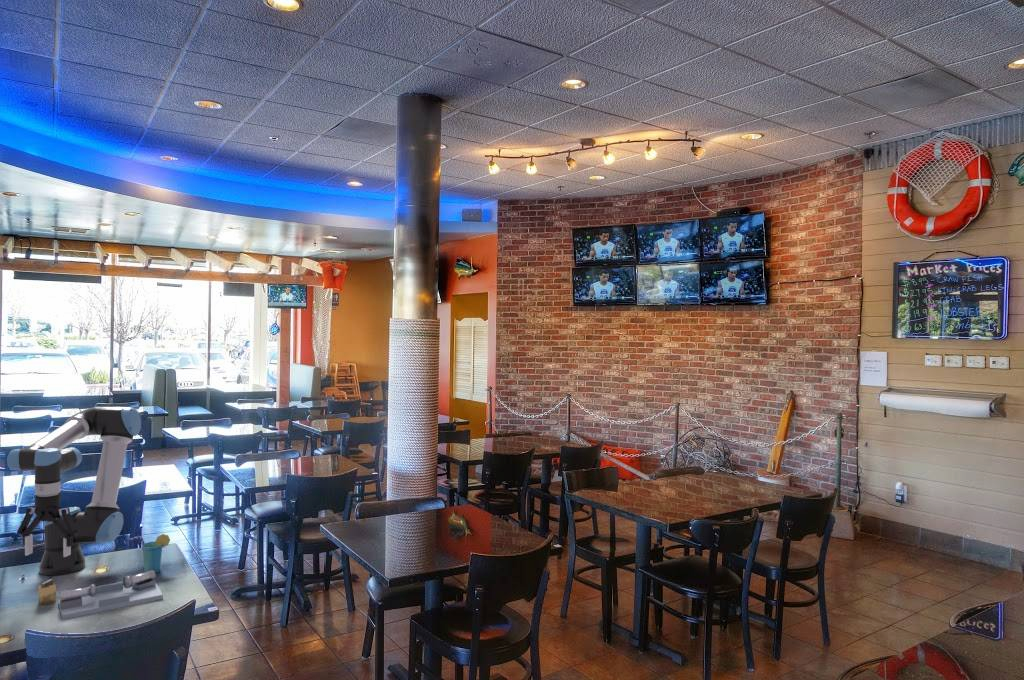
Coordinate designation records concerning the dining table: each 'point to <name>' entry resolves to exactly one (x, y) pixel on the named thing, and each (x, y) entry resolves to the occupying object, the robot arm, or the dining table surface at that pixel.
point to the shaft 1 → (78, 593)
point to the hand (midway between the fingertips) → (47, 555)
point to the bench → (108, 600)
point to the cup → (153, 552)
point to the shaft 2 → (140, 581)
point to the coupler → (47, 593)
